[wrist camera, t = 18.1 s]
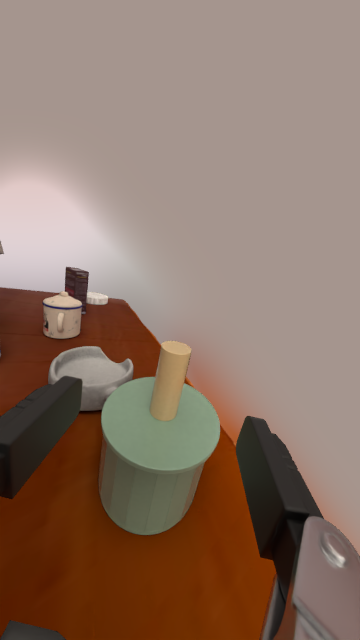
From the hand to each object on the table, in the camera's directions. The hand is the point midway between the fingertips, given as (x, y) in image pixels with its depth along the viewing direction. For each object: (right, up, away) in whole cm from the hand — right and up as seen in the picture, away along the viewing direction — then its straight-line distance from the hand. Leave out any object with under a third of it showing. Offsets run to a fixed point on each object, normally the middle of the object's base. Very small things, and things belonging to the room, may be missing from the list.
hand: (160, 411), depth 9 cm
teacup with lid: (-31, 0, +43) cm, 53 cm away
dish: (-15, -8, +25) cm, 31 cm away
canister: (-3, -14, +14) cm, 20 cm away
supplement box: (-40, +8, +64) cm, 75 cm away
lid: (-1, -6, +11) cm, 13 cm away
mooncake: (-41, +13, +83) cm, 93 cm away
